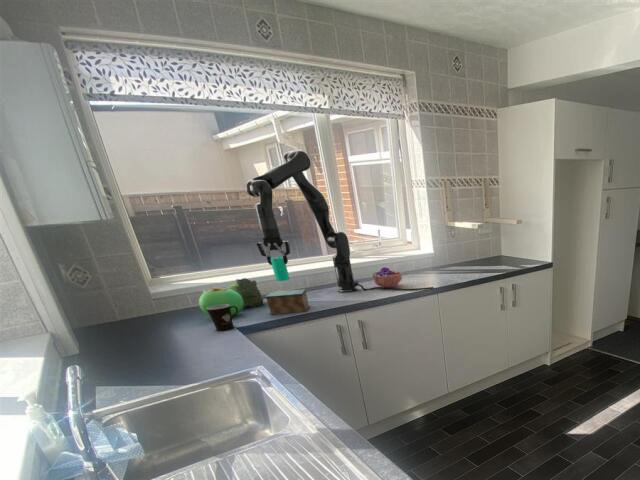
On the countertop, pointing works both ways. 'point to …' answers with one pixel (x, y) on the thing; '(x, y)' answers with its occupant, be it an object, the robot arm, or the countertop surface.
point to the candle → (279, 269)
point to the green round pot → (221, 299)
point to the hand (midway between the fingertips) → (278, 264)
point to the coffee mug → (222, 316)
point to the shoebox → (287, 301)
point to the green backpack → (249, 292)
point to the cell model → (387, 278)
